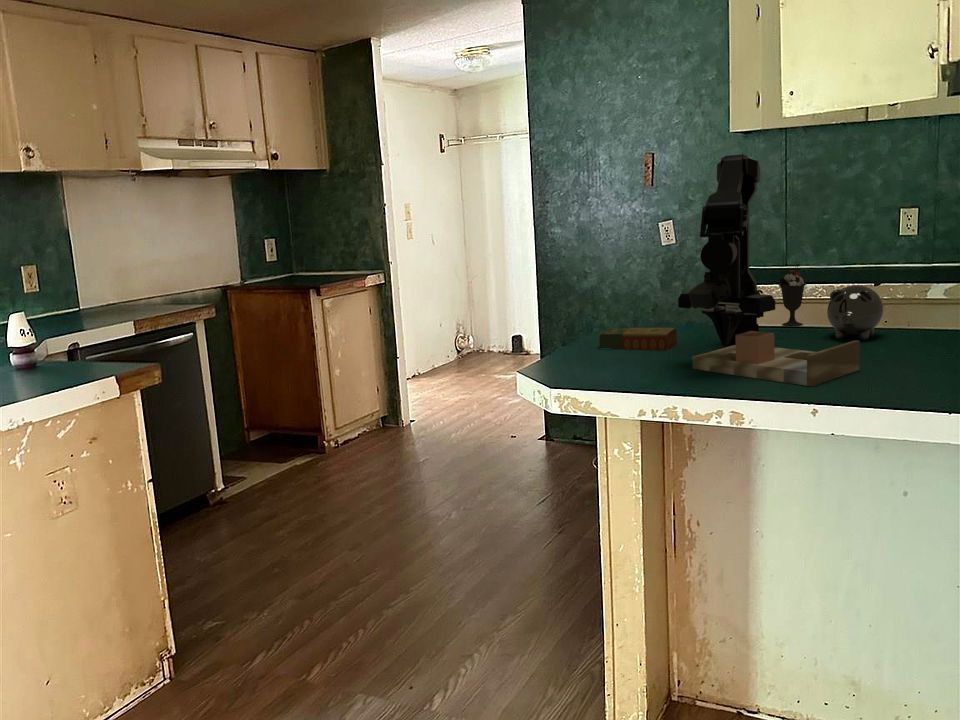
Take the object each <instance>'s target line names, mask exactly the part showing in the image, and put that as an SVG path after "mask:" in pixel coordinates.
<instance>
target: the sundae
mask: <svg viewBox="0 0 960 720" xmlns="http://www.w3.org/2000/svg"><path fill="white" fill-rule="evenodd" d="M799 266H800V263H796V266H795V267H794V269H792V270H789V272H788V273H787V274H785V276H782V277H781V278H779V279H778V281H779V283H778V284H777V285H778V286H779V287H780V288H781V289H780V290H781V295H782V297H781V298H782V302H783V306H784V308H785V309H786V310H788V311H789V319H788V321H786V322H784V323H782V324H781V326H782V327H789V328H790V327H791V328H792V327H793V328H794V327H802V326H804V323H802V322H799V321H797V320H796V311H797V310H798V309H800V307H801V306H802V302H803V297H804V290H805V287H806V286H807V285H808V283H806V282H805V280H804V279H803V278H802V277H801V272H799ZM795 269H797V272H795Z"/></svg>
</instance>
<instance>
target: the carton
mask: <svg viewBox="0 0 960 720" xmlns="http://www.w3.org/2000/svg"><path fill="white" fill-rule="evenodd" d="M598 341H599V349H600V348H611V349H610V350H622V349H624V350H623V351H625V350H627V351H628V350H629V351H630V350H631V351H633V350H634V351H669V350H670V349H672V348H673V347H675V346H676V345H677V343H678V335H677V328H676V327H609V328H608V329H606V330H604V331H601V332H600V333H599V340H598Z"/></svg>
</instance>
